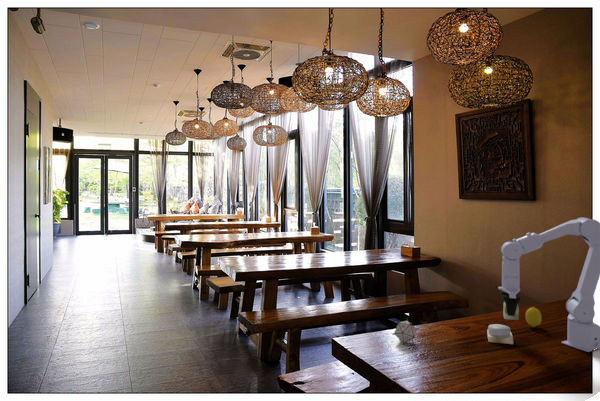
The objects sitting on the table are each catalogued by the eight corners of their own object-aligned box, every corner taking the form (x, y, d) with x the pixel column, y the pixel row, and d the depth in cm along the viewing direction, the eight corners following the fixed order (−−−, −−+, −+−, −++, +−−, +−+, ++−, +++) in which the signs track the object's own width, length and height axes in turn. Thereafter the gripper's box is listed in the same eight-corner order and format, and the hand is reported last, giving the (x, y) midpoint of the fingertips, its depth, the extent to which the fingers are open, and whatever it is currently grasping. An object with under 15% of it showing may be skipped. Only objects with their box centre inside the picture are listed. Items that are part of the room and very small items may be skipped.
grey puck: (507, 331, 164) (507, 324, 164) (512, 338, 157) (512, 331, 157) (486, 330, 165) (486, 323, 165) (490, 337, 158) (490, 330, 158)
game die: (401, 353, 159) (384, 332, 158) (406, 338, 166) (390, 317, 165) (421, 346, 154) (404, 324, 153) (426, 330, 160) (409, 309, 160)
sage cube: (516, 316, 161) (517, 302, 161) (518, 320, 157) (518, 306, 157) (503, 315, 163) (503, 301, 162) (504, 319, 158) (504, 305, 158)
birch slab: (510, 338, 164) (510, 331, 164) (513, 345, 156) (513, 338, 156) (487, 336, 166) (487, 329, 166) (488, 343, 159) (488, 336, 159)
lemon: (544, 329, 171) (544, 308, 170) (529, 329, 171) (529, 309, 170) (536, 324, 176) (537, 304, 176) (522, 325, 176) (522, 305, 176)
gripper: (496, 271, 167) (496, 306, 168) (500, 279, 154) (499, 318, 154) (517, 272, 165) (517, 308, 166) (522, 280, 151) (522, 320, 152)
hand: (510, 313), depth 160 cm, fingers closed on sage cube, 4 cm apart
